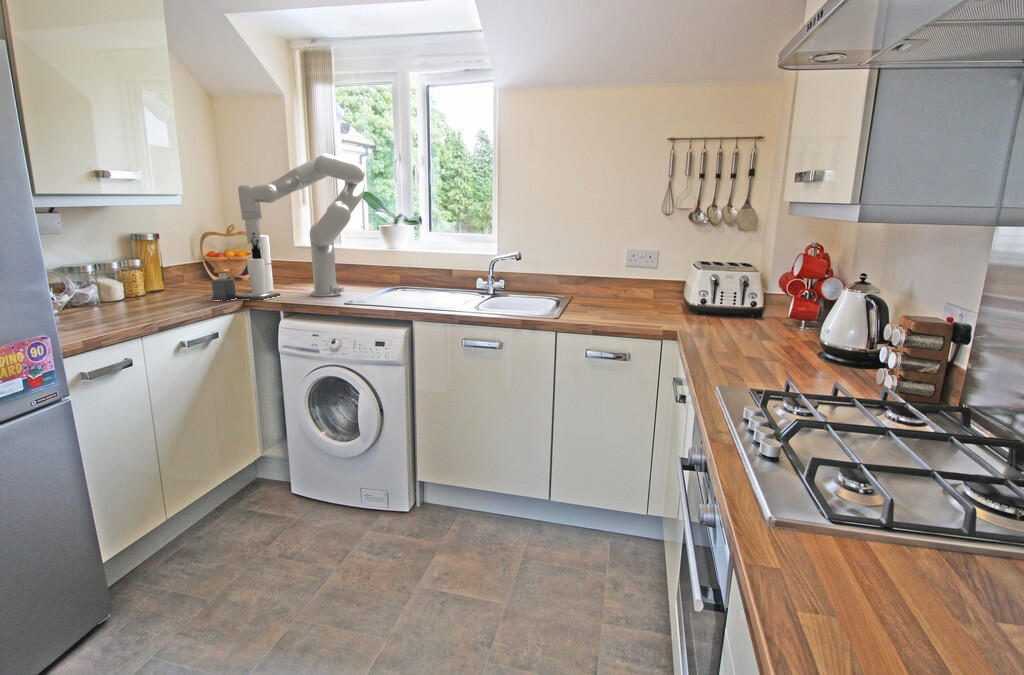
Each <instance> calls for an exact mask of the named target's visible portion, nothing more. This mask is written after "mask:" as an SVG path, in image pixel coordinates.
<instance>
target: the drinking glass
mask: <svg viewBox="0 0 1024 675" xmlns="http://www.w3.org/2000/svg"><path fill="white" fill-rule="evenodd" d="M246 265H247V266H246V267H247V272H248V278H249V279H248V280H249V282H250V288H251V293H252V294H253V295H263V294H265V293H266V292H265V263H264V259H263V258H261V259H253V257H251V258H246Z"/></svg>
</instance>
